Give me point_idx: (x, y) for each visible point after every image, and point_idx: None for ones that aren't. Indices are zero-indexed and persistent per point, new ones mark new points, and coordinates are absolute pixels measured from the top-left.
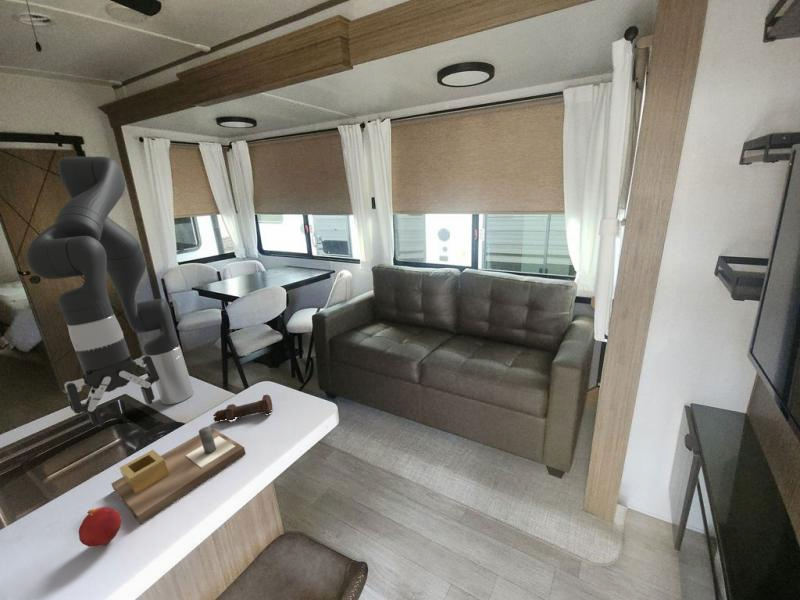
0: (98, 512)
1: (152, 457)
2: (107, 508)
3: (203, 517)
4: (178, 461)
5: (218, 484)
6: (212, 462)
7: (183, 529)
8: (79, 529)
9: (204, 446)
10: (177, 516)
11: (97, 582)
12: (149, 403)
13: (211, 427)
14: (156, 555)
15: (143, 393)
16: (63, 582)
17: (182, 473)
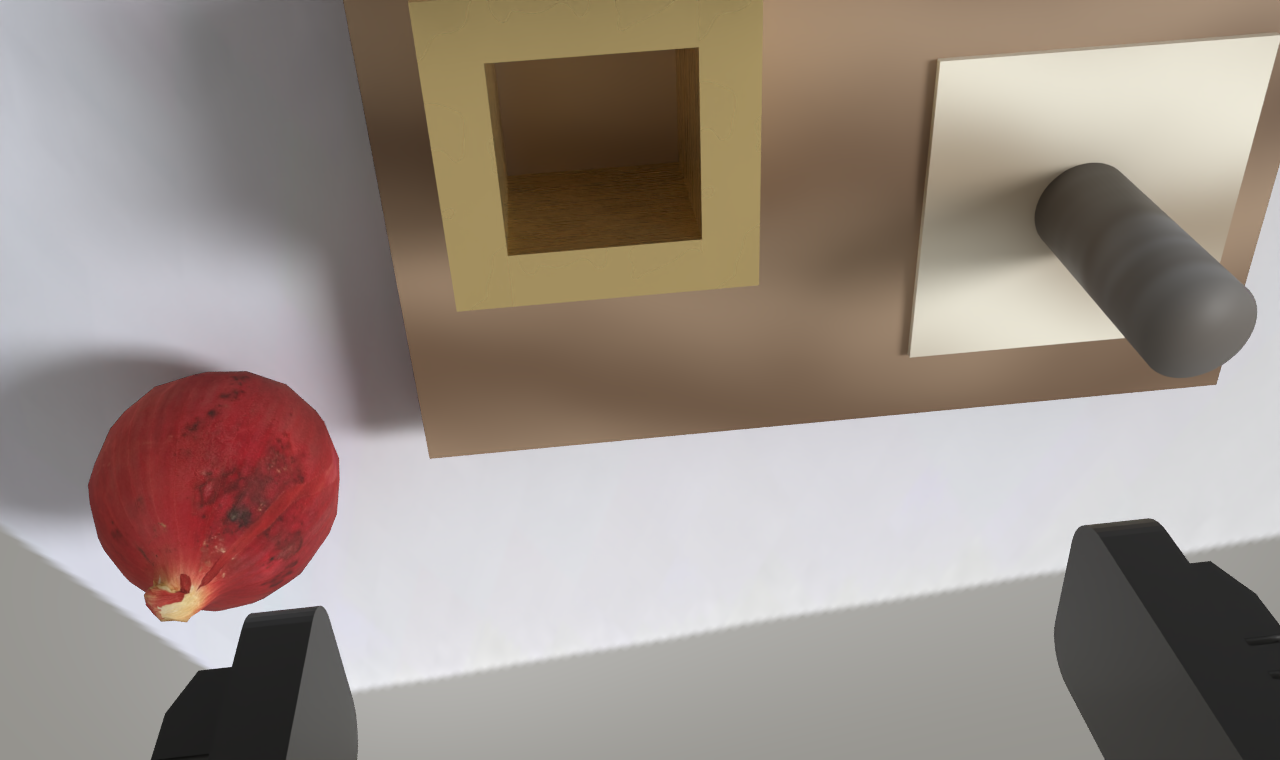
0: (216, 601)
1: (703, 146)
2: (271, 558)
3: (698, 625)
4: (858, 80)
5: (886, 471)
6: (987, 359)
7: (597, 621)
8: (95, 524)
9: (1070, 268)
10: (609, 521)
11: (199, 613)
12: (1070, 671)
13: None
14: (451, 665)
15: (1179, 742)
16: (35, 494)
17: (796, 286)
